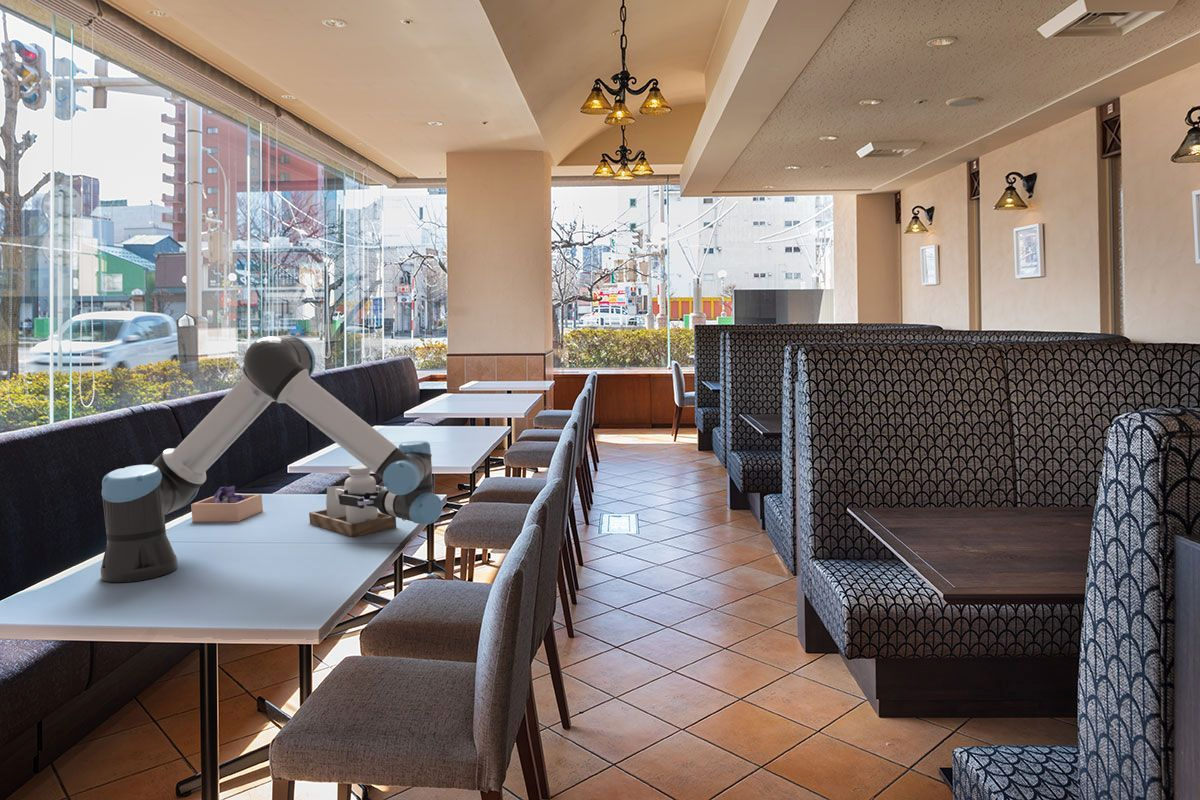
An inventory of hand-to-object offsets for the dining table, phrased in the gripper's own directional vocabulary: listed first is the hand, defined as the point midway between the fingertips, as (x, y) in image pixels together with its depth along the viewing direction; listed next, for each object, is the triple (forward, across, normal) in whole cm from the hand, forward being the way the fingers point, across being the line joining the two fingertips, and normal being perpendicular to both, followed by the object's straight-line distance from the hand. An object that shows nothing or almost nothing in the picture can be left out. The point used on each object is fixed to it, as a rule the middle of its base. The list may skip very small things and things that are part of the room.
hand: (351, 491), depth 228 cm
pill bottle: (-5, 0, -8) cm, 10 cm away
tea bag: (+7, 0, -10) cm, 12 cm away
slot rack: (+1, 0, -9) cm, 9 cm away
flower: (+44, -17, -10) cm, 48 cm away
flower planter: (+42, -17, -9) cm, 46 cm away
